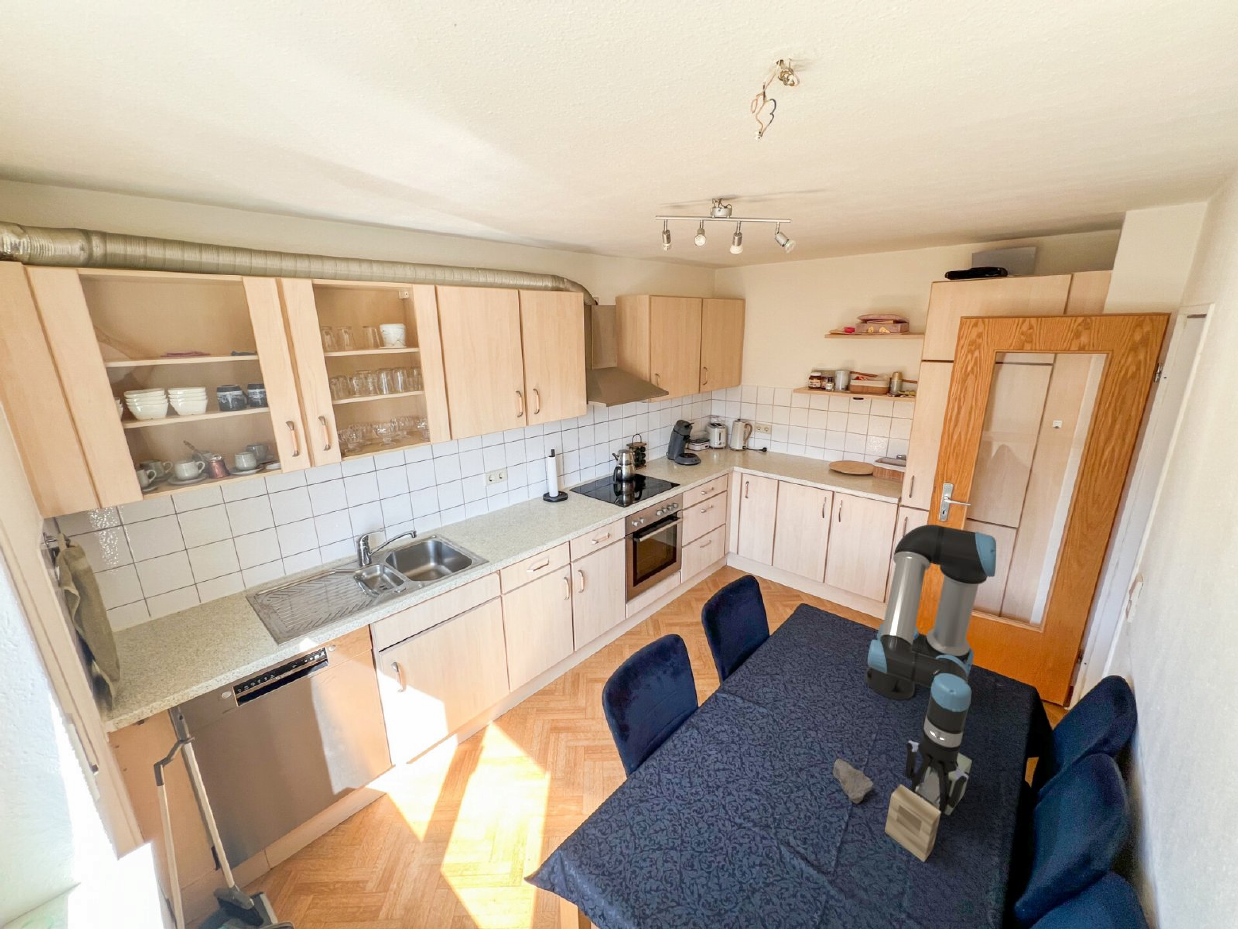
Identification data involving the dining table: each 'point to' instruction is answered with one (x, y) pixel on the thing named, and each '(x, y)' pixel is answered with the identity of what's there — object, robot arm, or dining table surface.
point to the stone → (852, 780)
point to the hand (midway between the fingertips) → (925, 811)
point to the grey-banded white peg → (930, 788)
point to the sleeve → (965, 767)
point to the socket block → (912, 822)
